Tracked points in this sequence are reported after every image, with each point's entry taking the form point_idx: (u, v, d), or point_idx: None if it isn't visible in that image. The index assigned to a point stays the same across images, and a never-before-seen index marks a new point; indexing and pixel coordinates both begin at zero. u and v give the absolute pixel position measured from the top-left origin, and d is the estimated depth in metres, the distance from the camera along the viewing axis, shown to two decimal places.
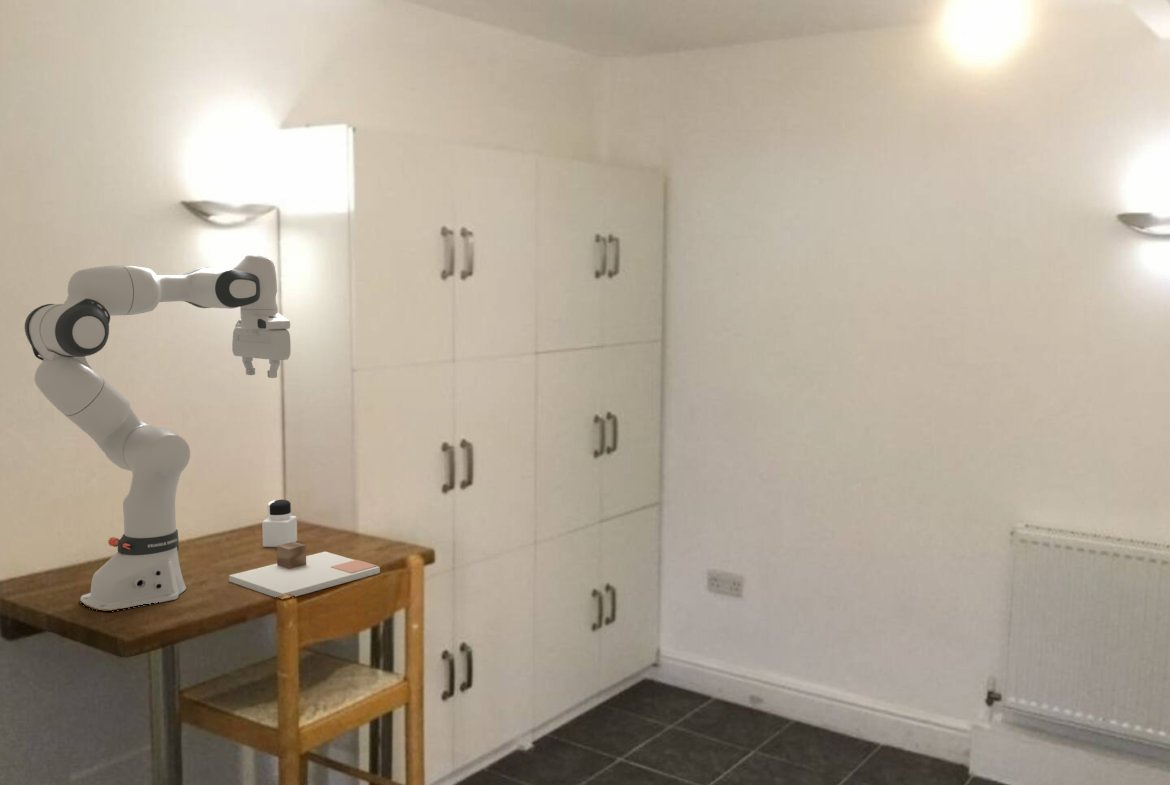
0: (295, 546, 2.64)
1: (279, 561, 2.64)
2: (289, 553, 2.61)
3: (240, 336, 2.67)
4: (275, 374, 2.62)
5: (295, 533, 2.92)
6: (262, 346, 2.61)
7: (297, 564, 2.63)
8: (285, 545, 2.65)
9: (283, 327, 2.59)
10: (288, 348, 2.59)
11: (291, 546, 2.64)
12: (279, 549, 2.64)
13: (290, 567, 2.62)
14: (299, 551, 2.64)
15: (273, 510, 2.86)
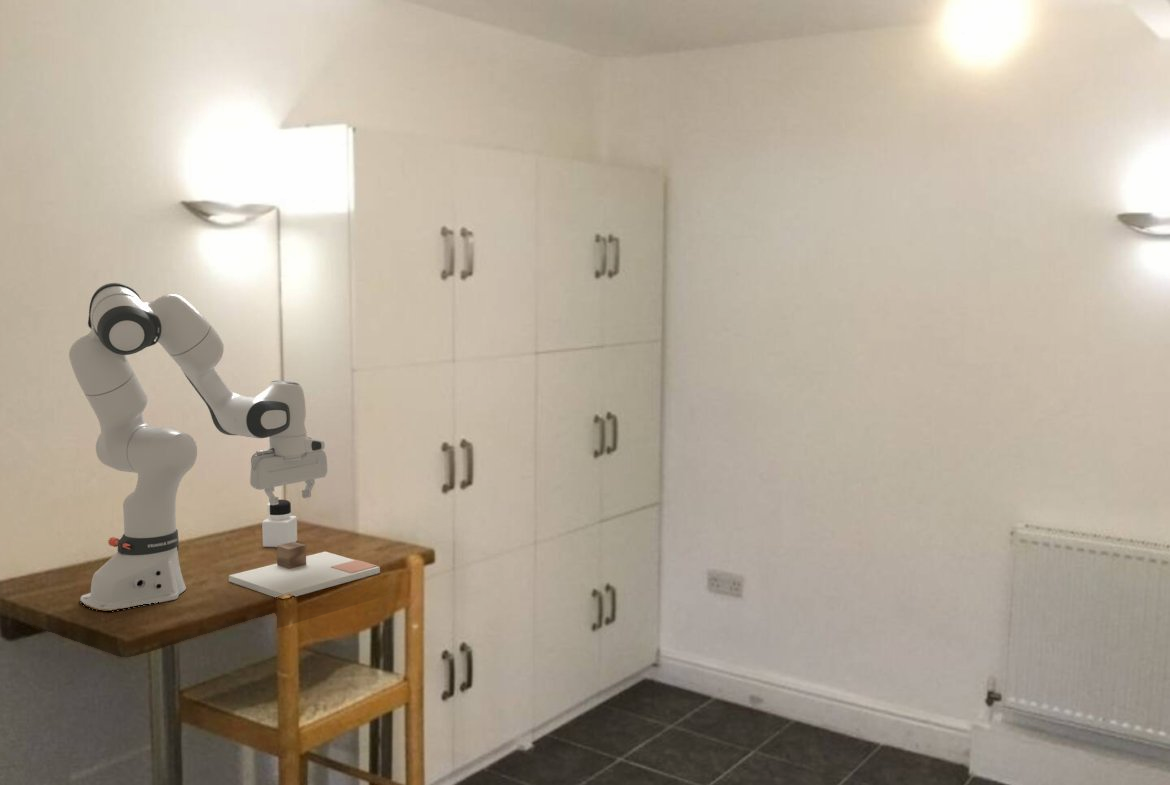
0: (295, 546, 2.64)
1: (279, 561, 2.64)
2: (289, 553, 2.61)
3: (270, 467, 2.56)
4: None
5: (295, 533, 2.92)
6: (305, 469, 2.64)
7: (297, 564, 2.63)
8: (285, 545, 2.65)
9: None
10: None
11: (291, 546, 2.64)
12: (279, 549, 2.64)
13: (290, 567, 2.62)
14: (299, 551, 2.64)
15: (273, 510, 2.86)
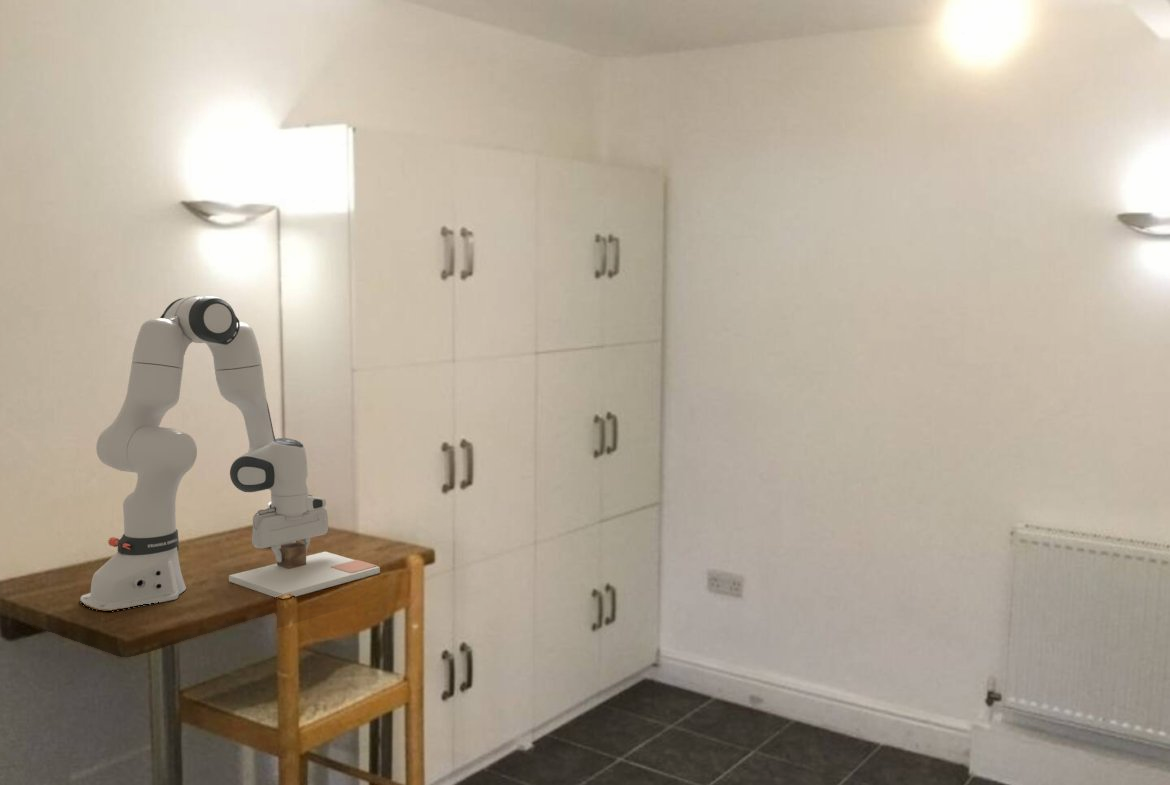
0: (295, 546, 2.64)
1: None
2: (289, 553, 2.61)
3: (272, 526, 2.58)
4: None
5: None
6: (306, 526, 2.66)
7: (297, 564, 2.63)
8: (285, 545, 2.65)
9: None
10: None
11: (291, 546, 2.64)
12: (279, 549, 2.64)
13: (290, 567, 2.62)
14: (299, 551, 2.64)
15: None
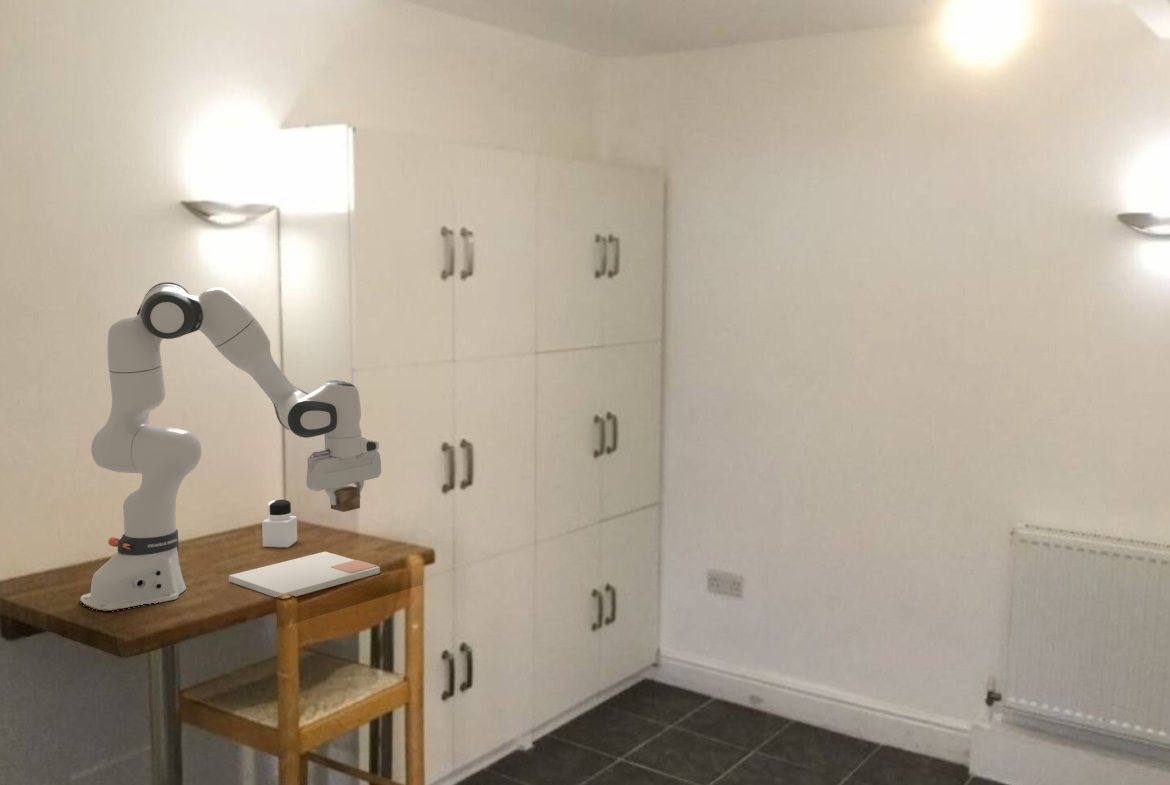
0: (349, 489, 2.60)
1: None
2: (343, 496, 2.58)
3: (326, 468, 2.55)
4: None
5: (295, 533, 2.92)
6: (360, 469, 2.62)
7: (351, 507, 2.60)
8: (339, 488, 2.61)
9: None
10: None
11: (345, 489, 2.60)
12: None
13: (344, 510, 2.59)
14: (353, 495, 2.61)
15: (273, 510, 2.86)
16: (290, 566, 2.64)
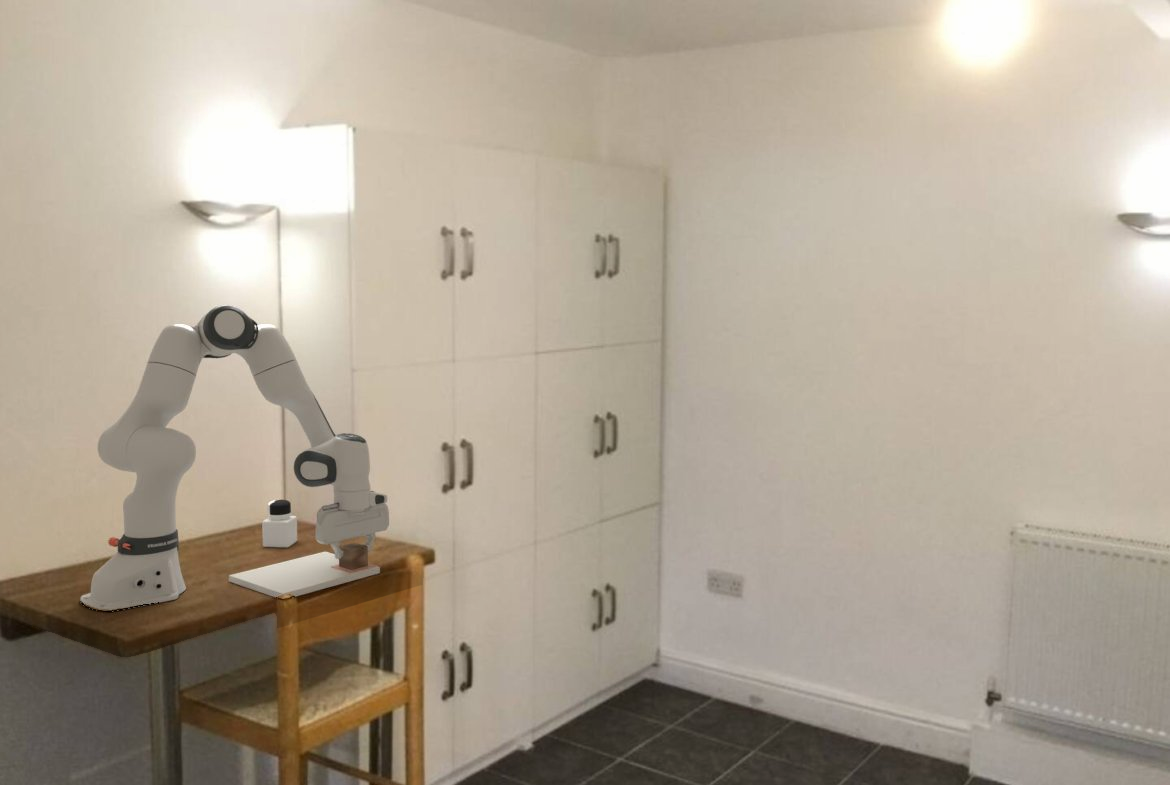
0: (357, 547, 2.62)
1: (341, 562, 2.63)
2: (351, 554, 2.60)
3: (335, 521, 2.57)
4: None
5: (295, 533, 2.92)
6: (368, 522, 2.64)
7: (359, 565, 2.62)
8: (347, 546, 2.63)
9: None
10: None
11: (353, 547, 2.62)
12: (341, 550, 2.62)
13: (352, 568, 2.61)
14: (361, 552, 2.62)
15: (273, 510, 2.86)
16: (290, 566, 2.64)
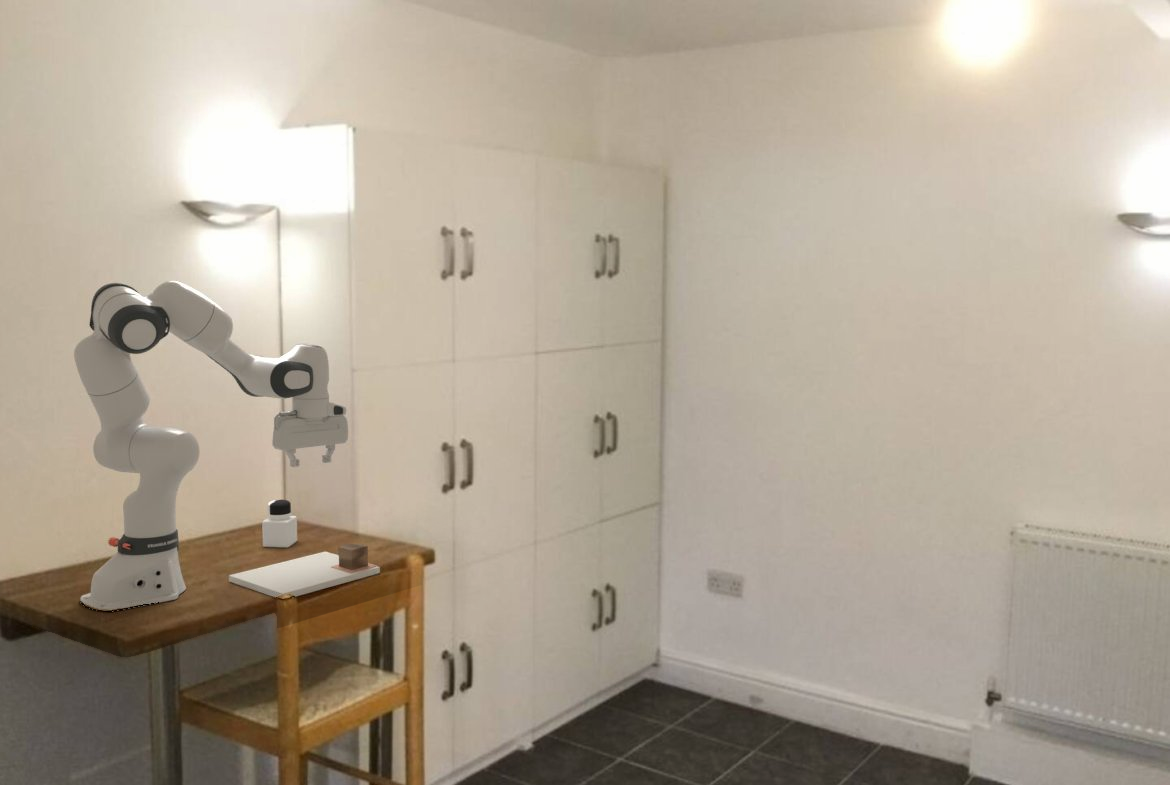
0: (357, 547, 2.62)
1: (341, 562, 2.63)
2: (351, 554, 2.60)
3: (293, 428, 2.59)
4: None
5: (295, 533, 2.92)
6: (327, 433, 2.66)
7: (359, 565, 2.62)
8: (347, 546, 2.63)
9: None
10: None
11: (353, 547, 2.62)
12: (341, 550, 2.62)
13: (352, 568, 2.61)
14: (361, 552, 2.62)
15: (273, 510, 2.86)
16: (290, 566, 2.64)
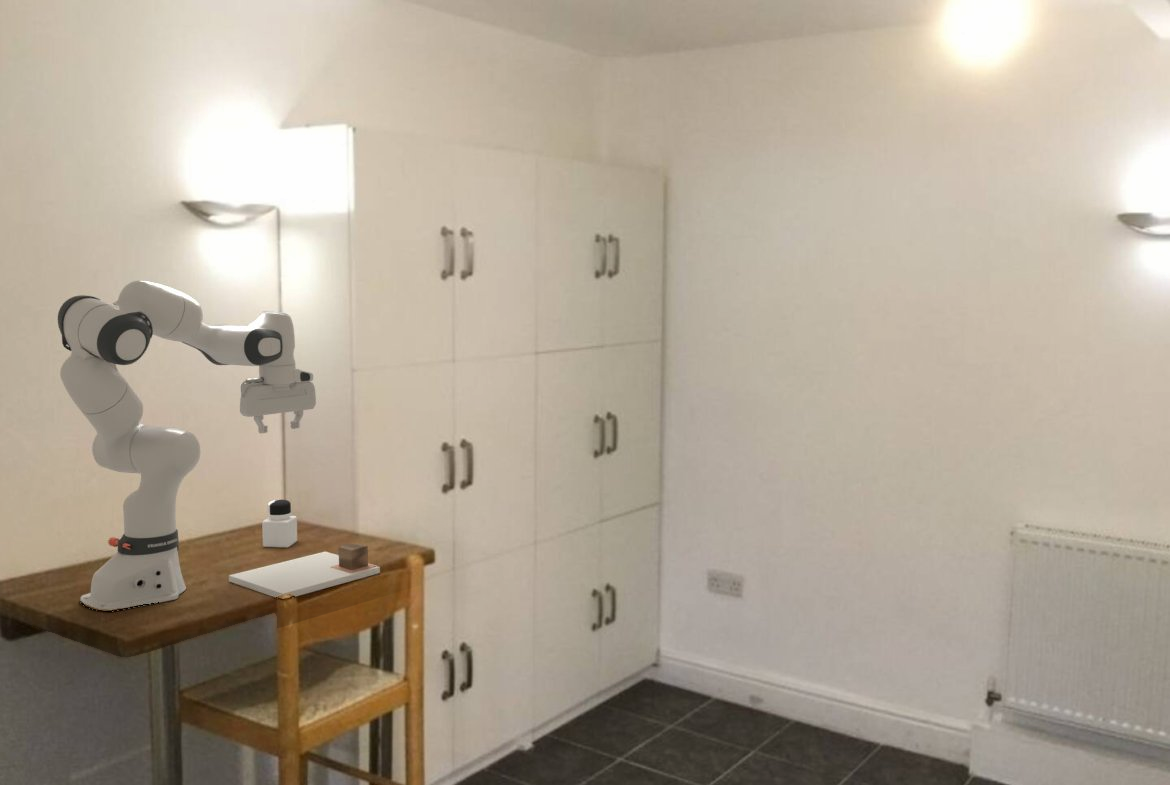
0: (357, 547, 2.62)
1: (341, 562, 2.63)
2: (351, 554, 2.60)
3: (259, 395, 2.62)
4: None
5: (295, 533, 2.92)
6: (294, 399, 2.69)
7: (359, 565, 2.62)
8: (347, 546, 2.63)
9: None
10: None
11: (353, 547, 2.62)
12: (341, 550, 2.62)
13: (352, 568, 2.61)
14: (361, 552, 2.62)
15: (273, 510, 2.86)
16: (290, 566, 2.64)
